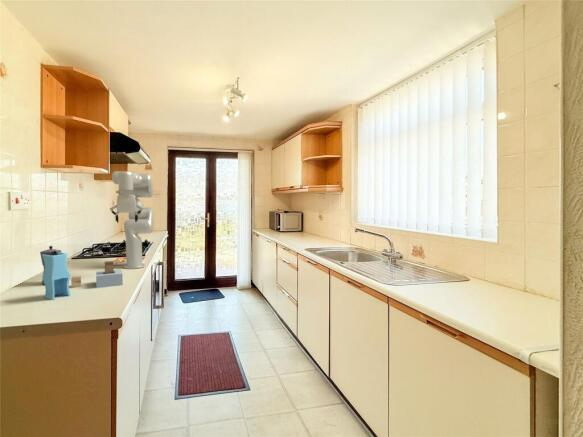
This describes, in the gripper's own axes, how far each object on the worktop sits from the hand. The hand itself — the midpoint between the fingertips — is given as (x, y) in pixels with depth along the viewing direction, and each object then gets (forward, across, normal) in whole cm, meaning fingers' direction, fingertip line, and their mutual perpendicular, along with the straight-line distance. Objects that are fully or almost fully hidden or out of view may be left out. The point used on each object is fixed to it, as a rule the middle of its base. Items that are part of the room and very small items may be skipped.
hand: (126, 222), depth 199 cm
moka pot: (+32, -37, -3) cm, 48 cm away
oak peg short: (+31, -26, -16) cm, 43 cm away
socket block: (+31, -10, -17) cm, 37 cm away
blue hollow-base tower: (+31, -32, -32) cm, 55 cm away
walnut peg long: (+31, -10, -17) cm, 37 cm away
